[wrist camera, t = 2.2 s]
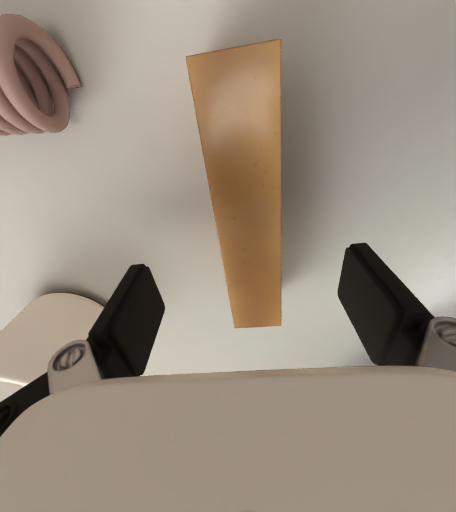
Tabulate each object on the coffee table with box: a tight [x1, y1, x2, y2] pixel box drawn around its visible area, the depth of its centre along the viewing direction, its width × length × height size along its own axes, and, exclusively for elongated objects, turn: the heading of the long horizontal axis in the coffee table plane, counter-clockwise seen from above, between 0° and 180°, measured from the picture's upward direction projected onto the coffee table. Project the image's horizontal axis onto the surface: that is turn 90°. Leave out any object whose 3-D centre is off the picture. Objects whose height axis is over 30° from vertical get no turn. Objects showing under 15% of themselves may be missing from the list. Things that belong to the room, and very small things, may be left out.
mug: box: [0, 293, 104, 402], centre depth 23 cm, size 12×10×9 cm
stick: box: [186, 39, 281, 328], centre depth 16 cm, size 4×18×4 cm, turn 8°
